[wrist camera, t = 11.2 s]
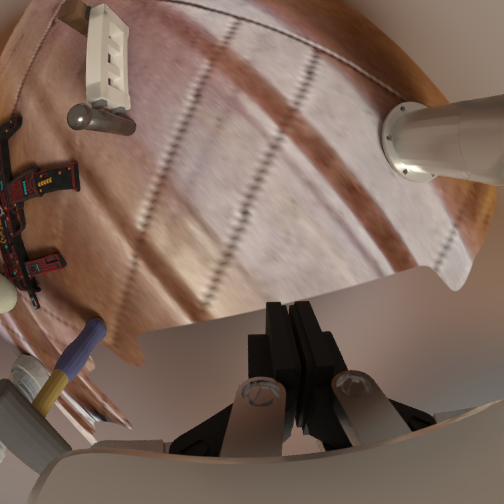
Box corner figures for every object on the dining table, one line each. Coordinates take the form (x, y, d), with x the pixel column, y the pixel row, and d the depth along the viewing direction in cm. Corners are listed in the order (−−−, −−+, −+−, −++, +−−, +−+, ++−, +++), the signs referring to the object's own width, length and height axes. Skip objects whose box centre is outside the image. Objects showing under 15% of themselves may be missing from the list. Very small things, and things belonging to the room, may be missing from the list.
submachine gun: (108, 301, 40) (13, 315, 39) (116, 291, 43) (22, 306, 43) (61, 87, 29) (-29, 146, 29) (73, 91, 33) (-17, 146, 32)
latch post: (118, 30, 29) (79, -5, 16) (117, 42, 30) (76, 9, 17) (103, 35, 29) (61, 4, 16) (101, 47, 30) (58, 18, 17)
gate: (128, 27, 28) (104, 3, 20) (131, 113, 33) (101, 102, 24) (116, 31, 28) (90, 8, 20) (118, 116, 33) (86, 107, 24)
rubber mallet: (68, 299, 42) (-34, 410, 14) (96, 287, 41) (-16, 413, 13) (104, 355, 46) (35, 479, 17) (133, 347, 45) (67, 489, 17)
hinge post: (136, 116, 34) (84, 98, 20) (137, 135, 35) (83, 125, 21) (119, 120, 34) (61, 105, 20) (120, 138, 35) (61, 132, 21)
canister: (40, 355, 47) (-26, 445, 18) (57, 388, 50) (5, 476, 21) (15, 350, 46) (-49, 427, 18) (31, 381, 50) (-21, 458, 21)
